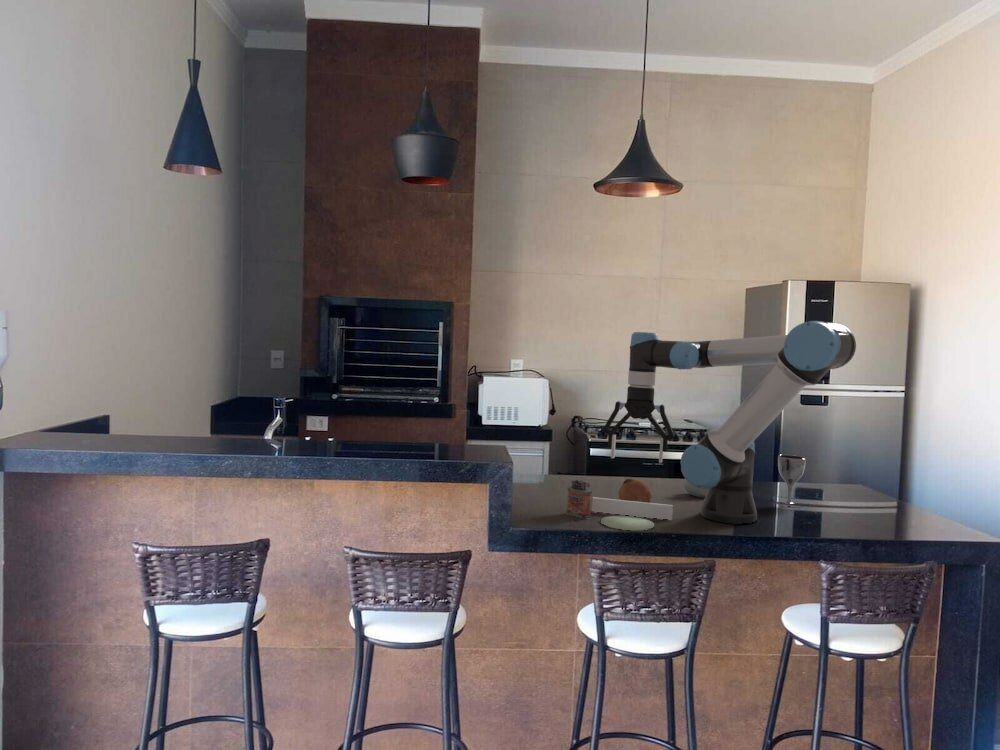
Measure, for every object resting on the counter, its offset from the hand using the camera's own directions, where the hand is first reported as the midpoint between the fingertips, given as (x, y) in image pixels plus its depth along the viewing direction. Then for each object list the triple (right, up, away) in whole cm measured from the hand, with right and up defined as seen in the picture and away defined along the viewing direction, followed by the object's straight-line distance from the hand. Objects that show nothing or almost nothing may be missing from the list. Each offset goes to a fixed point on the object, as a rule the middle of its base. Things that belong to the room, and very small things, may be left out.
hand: (636, 460), depth 226 cm
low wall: (-3, -15, -7) cm, 16 cm away
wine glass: (+49, -16, +16) cm, 54 cm away
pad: (-5, -15, -17) cm, 23 cm away
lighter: (-18, -15, -10) cm, 25 cm away
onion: (0, -15, +1) cm, 15 cm away
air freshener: (+25, -14, +24) cm, 37 cm away
